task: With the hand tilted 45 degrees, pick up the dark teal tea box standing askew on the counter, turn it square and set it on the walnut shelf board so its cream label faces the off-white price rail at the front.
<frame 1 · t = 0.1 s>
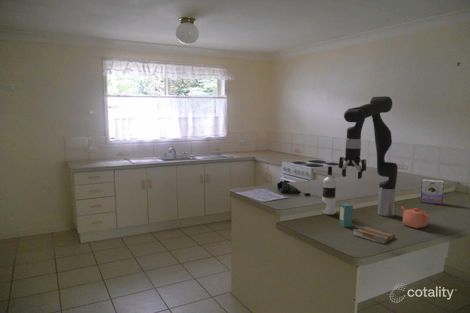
hand: (351, 177, 182), 29 cm above the counter, tool pointing down, fingers open, 8 cm apart
candy box: (431, 203, 246), on the counter
vodka: (328, 213, 219), on the counter
teapot: (413, 225, 195), on the counter
shelf: (373, 236, 178), on the counter
tea box: (345, 225, 195), on the counter
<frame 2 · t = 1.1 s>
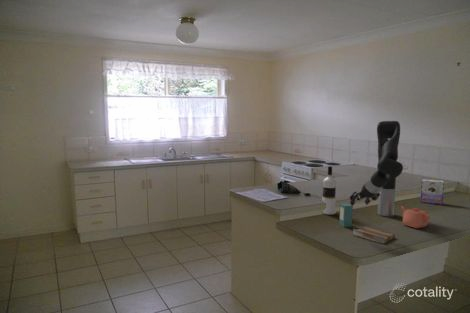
hand: (358, 203, 182), 16 cm above the counter, tool tilted 45°, fingers open, 8 cm apart
nothing on the counter moved.
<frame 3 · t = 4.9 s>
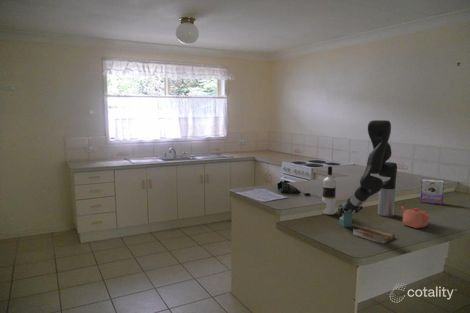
hand: (344, 215, 196), 5 cm above the counter, tool tilted 45°, fingers closed on tea box, 5 cm apart
tea box: (345, 225, 195), on the counter, touching gripper
everything else where it was.
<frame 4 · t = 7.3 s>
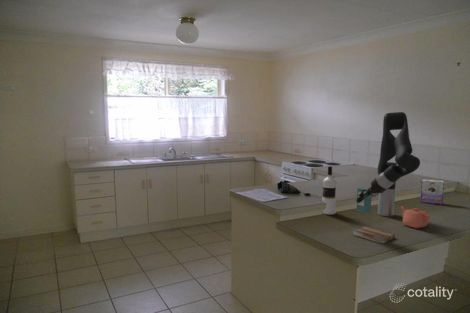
hand: (361, 200, 181), 17 cm above the counter, tool tilted 45°, fingers closed on tea box, 5 cm apart
tea box: (363, 211, 180), point 12 cm above the counter, touching gripper
everything else where it was.
when the fingers open (9 cm above the counter, at t = 9.8 s): tea box drops 1 cm, resting on shelf.
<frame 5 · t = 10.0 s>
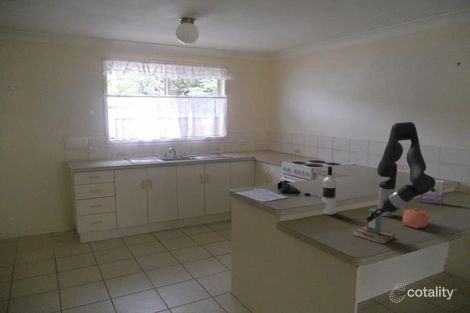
hand: (370, 219, 177), 9 cm above the counter, tool tilted 45°, fingers open, 6 cm apart
tea box: (373, 232, 177), point 2 cm above the counter, touching shelf
everything else where it was.
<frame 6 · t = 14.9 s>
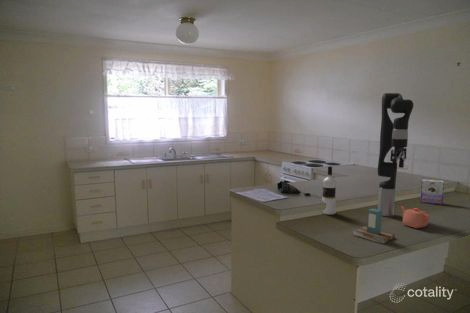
hand: (397, 168, 183), 34 cm above the counter, tool pointing down, fingers open, 8 cm apart
nothing on the counter moved.
at the end: tea box inside the target area on the shelf (0.8 cm from its centre), point 2.0 cm above the shelf's base; tea box tilted 0°; the gripper is holding nothing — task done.
